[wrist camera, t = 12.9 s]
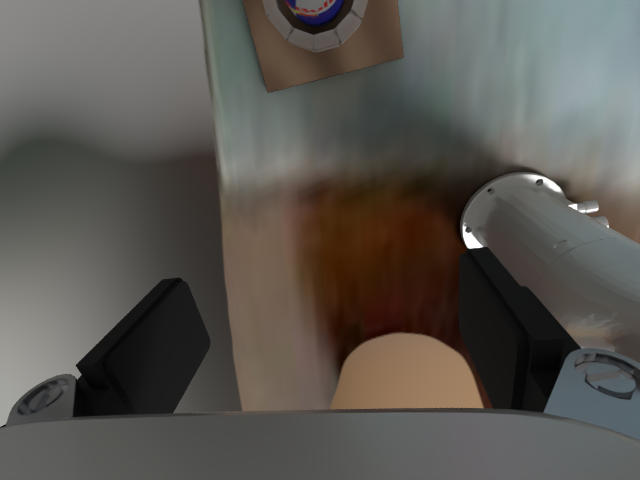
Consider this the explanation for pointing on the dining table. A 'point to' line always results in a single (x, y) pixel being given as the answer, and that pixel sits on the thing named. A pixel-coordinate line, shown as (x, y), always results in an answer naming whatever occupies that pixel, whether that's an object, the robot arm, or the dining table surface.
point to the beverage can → (315, 11)
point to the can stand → (322, 40)
